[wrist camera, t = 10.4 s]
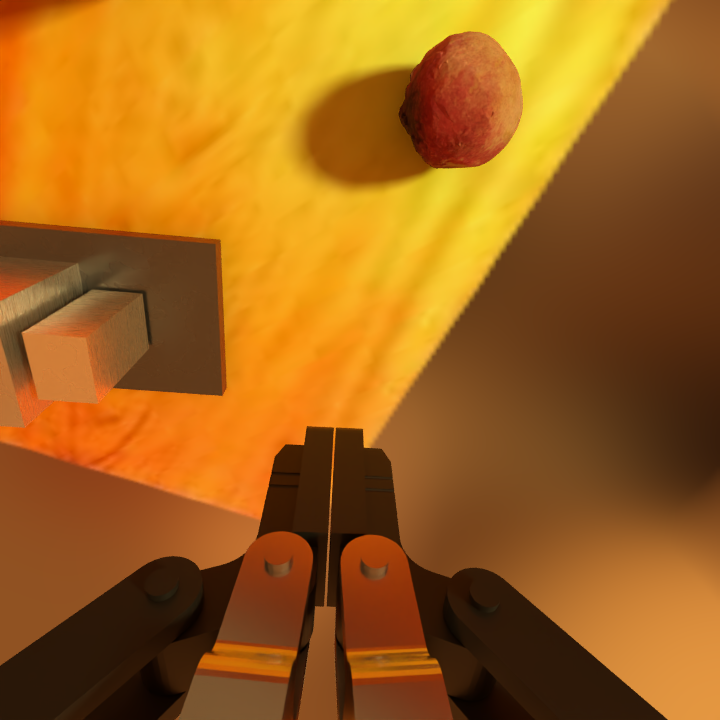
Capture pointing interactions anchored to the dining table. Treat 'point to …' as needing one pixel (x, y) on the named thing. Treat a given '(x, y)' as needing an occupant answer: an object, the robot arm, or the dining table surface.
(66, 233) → the shaft housing
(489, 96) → the fruit
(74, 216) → the dining table surface
